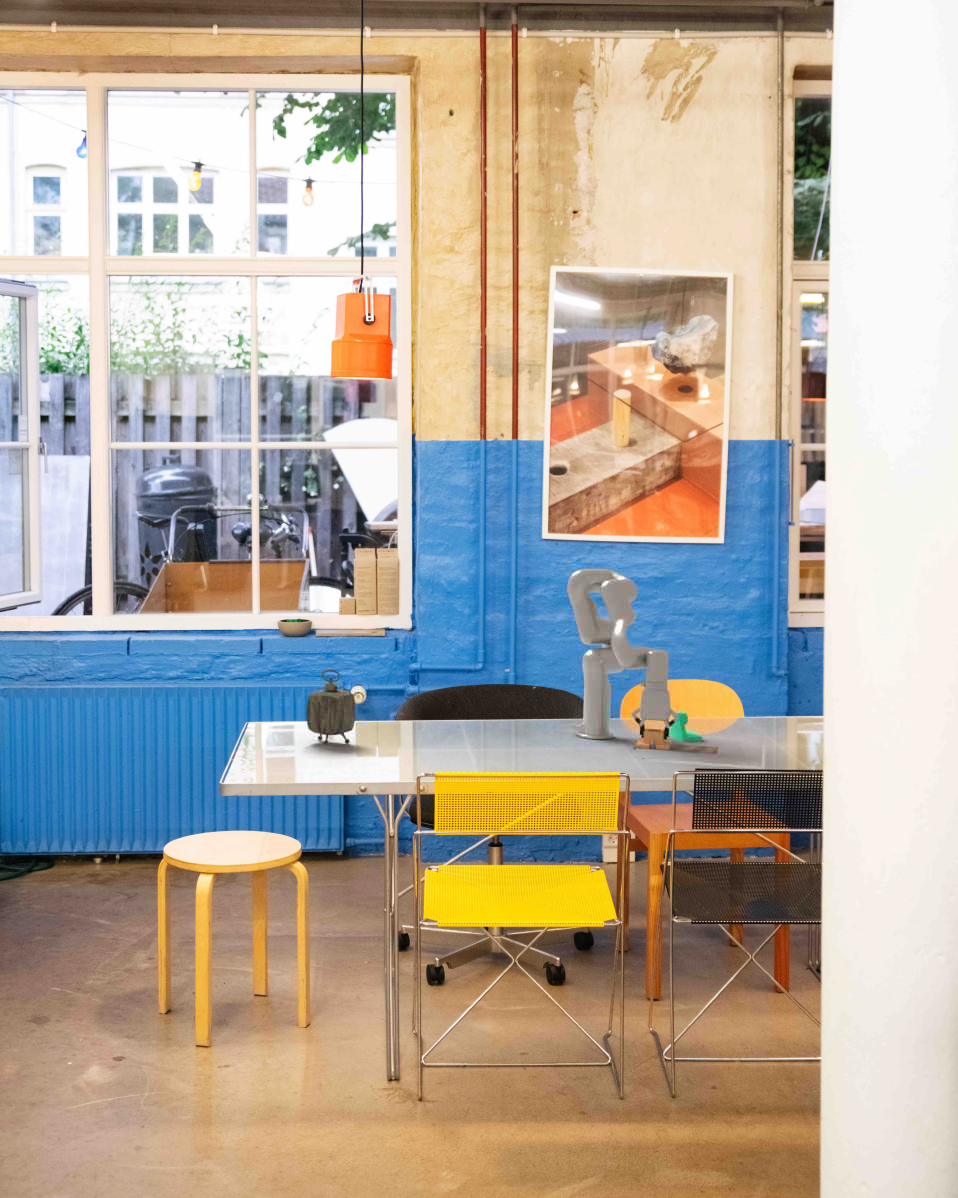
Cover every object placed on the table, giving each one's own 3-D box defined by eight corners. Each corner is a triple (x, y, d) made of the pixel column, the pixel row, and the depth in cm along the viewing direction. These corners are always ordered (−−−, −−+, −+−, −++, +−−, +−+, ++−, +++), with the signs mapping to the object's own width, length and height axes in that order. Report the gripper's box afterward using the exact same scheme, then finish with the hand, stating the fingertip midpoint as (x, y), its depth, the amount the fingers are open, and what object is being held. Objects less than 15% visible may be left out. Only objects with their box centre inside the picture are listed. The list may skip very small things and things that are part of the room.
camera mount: (703, 744, 400) (704, 715, 400) (682, 744, 399) (683, 715, 398) (689, 737, 412) (690, 709, 411) (669, 738, 410) (670, 709, 410)
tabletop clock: (354, 743, 384) (356, 669, 383) (340, 748, 376) (341, 672, 375) (318, 739, 391) (319, 666, 389) (303, 743, 382) (304, 669, 381)
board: (634, 750, 385) (634, 739, 384) (638, 744, 396) (638, 732, 396) (716, 756, 378) (716, 744, 378) (717, 750, 390) (718, 738, 390)
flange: (671, 744, 393) (672, 729, 393) (668, 750, 382) (669, 734, 382) (639, 741, 396) (639, 726, 395) (635, 747, 385) (636, 732, 385)
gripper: (629, 686, 386) (627, 738, 387) (681, 689, 382) (679, 742, 383) (631, 683, 393) (629, 734, 395) (683, 686, 389) (680, 738, 390)
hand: (654, 737), depth 389 cm, fingers open, 7 cm apart
